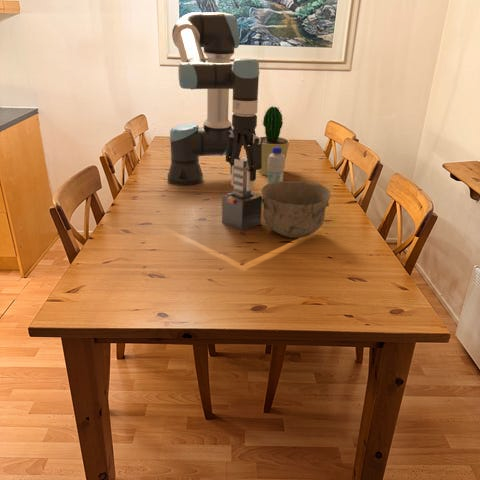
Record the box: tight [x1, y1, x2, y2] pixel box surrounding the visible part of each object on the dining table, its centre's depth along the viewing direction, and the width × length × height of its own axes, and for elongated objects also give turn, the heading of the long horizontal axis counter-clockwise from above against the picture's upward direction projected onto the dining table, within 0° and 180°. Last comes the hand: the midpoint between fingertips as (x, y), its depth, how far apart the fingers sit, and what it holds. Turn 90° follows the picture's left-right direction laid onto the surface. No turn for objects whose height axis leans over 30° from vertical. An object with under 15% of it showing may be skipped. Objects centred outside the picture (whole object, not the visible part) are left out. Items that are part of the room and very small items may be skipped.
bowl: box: [261, 180, 332, 239], centre depth 143 cm, size 22×22×15 cm
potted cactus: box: [257, 105, 291, 177], centre depth 200 cm, size 15×15×30 cm
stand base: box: [221, 191, 263, 232], centre depth 149 cm, size 14×14×11 cm
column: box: [232, 156, 252, 200], centre depth 146 cm, size 4×5×22 cm
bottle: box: [266, 147, 286, 185], centre depth 173 cm, size 7×7×20 cm
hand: (242, 187), depth 145 cm, fingers open, 6 cm apart
